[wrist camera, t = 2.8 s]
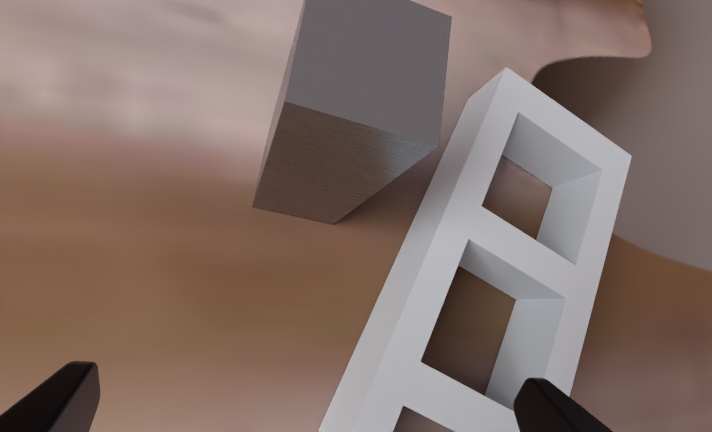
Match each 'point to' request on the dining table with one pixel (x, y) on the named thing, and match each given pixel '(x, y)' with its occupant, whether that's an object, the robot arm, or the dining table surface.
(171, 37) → the dining table surface
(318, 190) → the steel peg
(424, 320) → the white flat frame block
